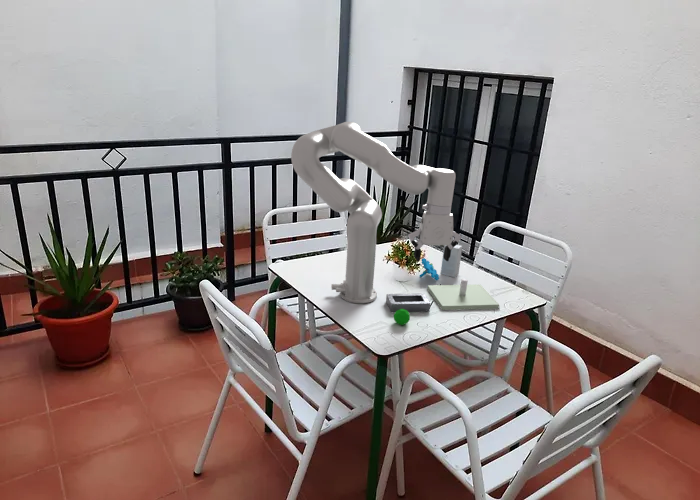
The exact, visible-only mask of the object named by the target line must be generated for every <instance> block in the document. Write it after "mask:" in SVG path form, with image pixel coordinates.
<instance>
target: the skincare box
mask: <svg viewBox="0 0 700 500" xmlns="http://www.w3.org/2000/svg"><path fill="white" fill-rule="evenodd" d="M446 246H447V245H443V251H442V252H443V253H442V260H441V267H440V268H441V269H440V274H441V275H443V276H446V277H451V278H456V277H457V276H459V274H460V265H461V259H462V258H461V257H462V251H463V245H459V244H457V245H456V246H454V247H453V249H452V250H451V255H450V258H449V261H446V260H445V259H444V258H443V256H444V250H445V247H446Z"/></svg>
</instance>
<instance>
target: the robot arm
mask: <svg viewBox="0 0 700 500" xmlns="http://www.w3.org/2000/svg"><path fill="white" fill-rule="evenodd" d="M338 152H341V153H342V154H344V155H346V156H348V157H349V158H351V159H353V160H355V161H356V162H358V163H361V165H364V166H365V167H368V168H369V169H371V171H373V172H374V173H375V174H377V175H378V176H380V177H381V178H382V179H383V180H385V181H386V182H387V183H389V184H390V185H392V186H394V187H396V188H398V189H399V190H402V191H404V193H405V192H406V193H407V194H410V195H414V196H416V195H420V194H422V193H424V192H425V191H426V190H427V189H428V193H427V201H426V203H425V204H422V208H421V209H422V210H424V212H423V214H422V218H421V220H420V225H419V228H418V229H417V230H414V231H413V232H410V233H409V234H408V235H407V237H408V239H409V241H410V243H411V245H413V247H414V253H413V256H414V258H415V260H416V261H417V262H420V261H421V254H422V249H421V248H422V247H423V246H444V245H447V246H446V247H445V250H444V249H443V250H444V256H443V255H442V259H443V258H444V259H445V260H446V261H449V258H450V255H451V250H452V249H453V247H454V246H456V245H459V244H458V243H459V241H460V240H461V239H462V236H461V235H460V234H459V233H457V232H455V231H454V215H453V213H451V212H452V211H451V210H452V203H453V197H454V191H455V190H454V189H455V185H456V184H455V183H456V179H457V178H456V175H457V174H456V172H455V171H454V170H452V169H448V168H441V167H438V168H435V167H431V166H427V165H423V164H414V165H412V166H411V165H409V164H407V163H406V162H404V161H402V160H401V159H399V158H398V157H396V156H395V155H394V154H393V153H392V151H391V150H390V149H389V147H388V146H387V145H386V144H385V143H383V142H381V140H378V139H377V138H374V137H373V136H371V135H369V134H367V133H366V132H363V130H362V129H361V127H360V125H358V124H357V123H356V122H353V121H344V122H341V123H339V124H335V125H330V126H327V127H324V128H320V129H317V130H314V131H310V132H308V133H305V134H303V135H301V136H300V137H298V139H296V141H295V142H294V144H293V147H292V149H291V153H290V154H291V158H290V160H291V164H292V167H293V170H294V172H295V173H296V175H297V177H299V178H300V179H301V180H302V181H303V182H304V183H306V185H307V186H308V187H310V189H311V190H312V191H313V192H314V193H315V194H316V195H317V196H318V197H319V198H320V199H321V200H322V201H323V202H324V203H325V204H326V205H327V206H328V207H329V208H331V210H332V211H334V212H336V213H344V212H347V213H349V215H348V219H347V223H346V235H347V238H346V239H347V240H346V241H347V244H346V245H347V247H346V263H345V264H346V265H345V266H346V267H345V280H343V282H342V283H340V284H339V283H332V284H331V287H330V288H331V290H332V291H335V292H336V293H340V297H341V298H342V299H343V300H345V301H346V302H350V303H353V304H369V303H372V302H374V301H375V300H376V299H377V296H378V295H377V294H378V292H377V290H375V289H374V279H375V266H376V265H375V264H376V250H377V230H378V226H379V225H380V222H381V219H382V216H383V212H382V211H383V210H382V209H381V206H380V205H379V203H378V202H377V201H376V200H375V199H374V198H373V197H372V196H371V195H369V193H368V192H367V191H366V190H365V189H364V188H363V187H362V186H361V185H360V184H358V182H356V181H354V180H353V179H351V178H349V177H342V178H339V177H338V176H337V175H336V174H335V173H334V172H333V171H332V170H331V169H330V168H328V167H327V166H326V165H325V164H323V163H322V162H321V161H320V158H321V157H323V156H326V155H329V154H334V153H338ZM416 237H417V241H415V238H416ZM453 237H454V238H453Z"/></svg>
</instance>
